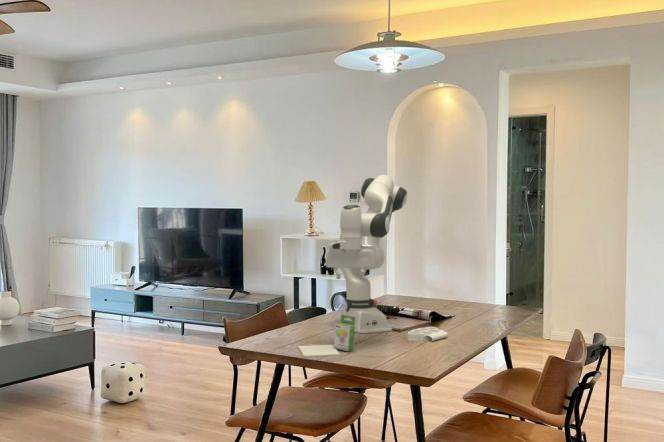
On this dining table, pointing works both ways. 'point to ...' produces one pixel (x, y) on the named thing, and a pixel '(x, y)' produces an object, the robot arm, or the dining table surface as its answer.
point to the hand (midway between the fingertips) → (350, 279)
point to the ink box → (344, 333)
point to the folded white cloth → (426, 334)
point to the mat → (318, 350)
